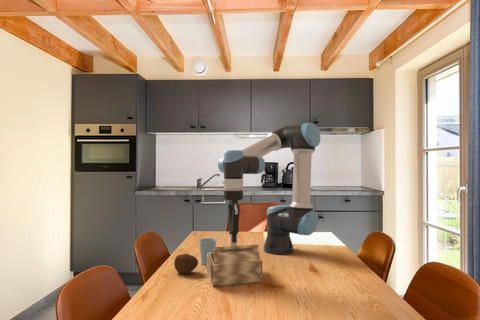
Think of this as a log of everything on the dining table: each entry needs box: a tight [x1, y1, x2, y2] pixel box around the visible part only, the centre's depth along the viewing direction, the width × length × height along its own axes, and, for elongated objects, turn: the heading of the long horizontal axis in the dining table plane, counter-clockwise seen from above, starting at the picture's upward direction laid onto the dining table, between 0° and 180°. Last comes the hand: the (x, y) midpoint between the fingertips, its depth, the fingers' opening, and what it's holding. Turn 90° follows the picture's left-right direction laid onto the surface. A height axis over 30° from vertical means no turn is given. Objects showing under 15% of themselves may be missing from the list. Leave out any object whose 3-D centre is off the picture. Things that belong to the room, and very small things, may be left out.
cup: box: [198, 237, 217, 266], centre depth 141 cm, size 8×8×10 cm
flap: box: [213, 244, 261, 264], centre depth 116 cm, size 17×1×6 cm
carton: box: [206, 252, 263, 288], centre depth 123 cm, size 20×17×8 cm
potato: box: [173, 253, 199, 274], centre depth 128 cm, size 7×10×8 cm
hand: (233, 250), depth 122 cm, fingers closed
